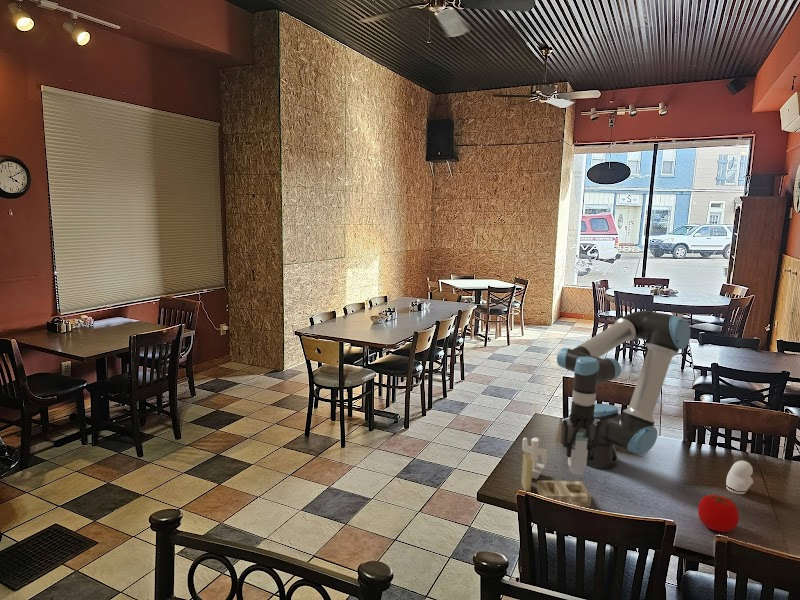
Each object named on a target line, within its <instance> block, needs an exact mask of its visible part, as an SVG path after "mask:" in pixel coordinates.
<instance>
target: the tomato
mask: <svg viewBox="0 0 800 600" xmlns="http://www.w3.org/2000/svg"><path fill="white" fill-rule="evenodd" d="M697 508H698V510H697V513H698V517H699V520H700V521H701V523H702V524H703V525H704V526H705V527H706V528H708V529H711V530H713V531H716V530H717V531H716V532H719V533H726V532H727V533H728V532H731V531H733V530H734V529H735V528H736V527H737V525H738V524H739V521H740V513H739V510H738V507H737V506H736V504H735V502H734V501H733V500H731V499H730V498H728V497H725V496H722V495H719V494H708V495H704V496H703V497H702V498H701V500H699V504H698V507H697ZM720 531H721V532H720Z"/></svg>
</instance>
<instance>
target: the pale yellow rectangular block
mask: <svg viewBox="0 0 800 600" xmlns="http://www.w3.org/2000/svg"><path fill="white" fill-rule="evenodd" d="M521 465H522V466H521V470H522V471H521V478H520V479H521V481H520V483H521V486H522V488H523V491H524V492H525V491H527V492H526V493H531V492H532V491H531V489H532V479H533V478H532V466H533V461H532V459H531V454H530V453H527V452H524V453H523V454H522V464H521Z"/></svg>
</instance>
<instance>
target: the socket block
mask: <svg viewBox="0 0 800 600" xmlns="http://www.w3.org/2000/svg"><path fill="white" fill-rule="evenodd" d="M536 481H537V483H536V493H537V494H538V496H539V495H542V496H544V497H547V498H550V499H553V500H557V501H561V502H565V503H569V504H573V505H577V506H581V507H580V508H591V505H592V495H591V493H590V492H589V491H588V489H587V487H586V486H585V484H584V483H583V482H582V481H581V480H579V481H578V480H575V481H574V480H538V479H537V480H536Z"/></svg>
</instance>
